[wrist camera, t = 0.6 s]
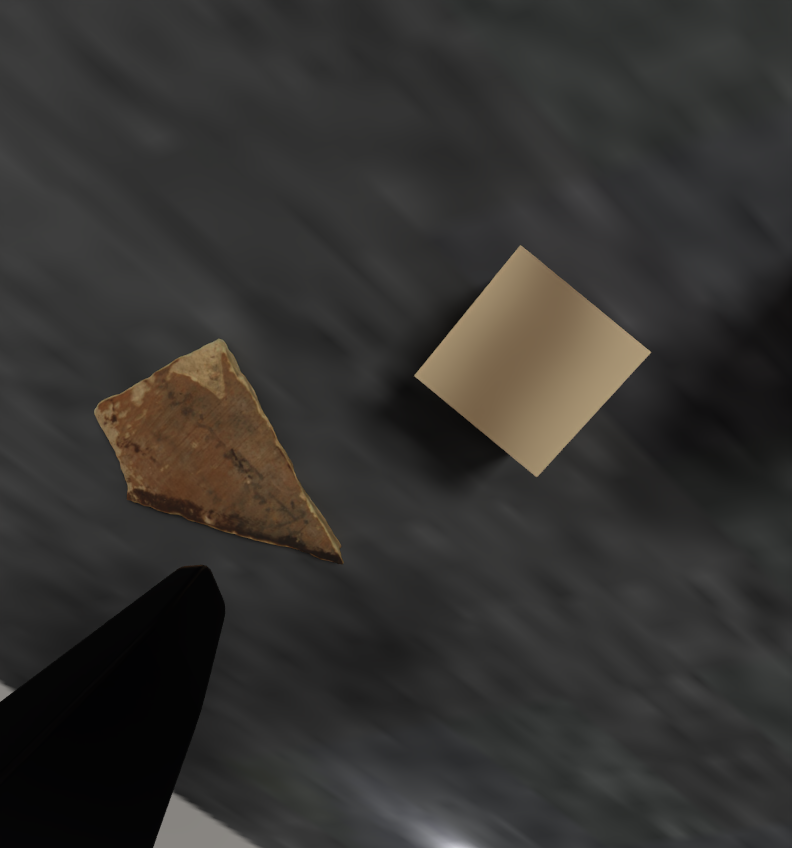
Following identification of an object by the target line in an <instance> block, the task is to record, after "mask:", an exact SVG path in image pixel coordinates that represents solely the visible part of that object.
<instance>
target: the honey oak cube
mask: <svg viewBox="0 0 792 848" xmlns="http://www.w3.org/2000/svg"><path fill="white" fill-rule="evenodd" d="M650 353H651V352H650V351H649V350H648V349H647V348H645V347H644V346H643V345H642V344H640V343H639V342H638V341H637V340H636V339H634V338H633V337H632V336H631V335H629V334H628V333H627V332H626V331H625V330H623V329H622V328H621V327H620V326H619V325H617V324H616V323H615V322H614V321H612V320H611V319H610V318H609V317H608V316H606V315H605V314H604V313H603V312H601V311H600V310H599V309H598V308H597V307H595V306H594V305H593V304H592V303H590V302H589V301H588V300H587V299H586V298H584V297H583V296H582V295H581V294H579V293H578V292H577V291H576V290H575V289H573V288H572V287H571V286H570V285H568V284H567V283H566V282H565V281H564V280H562V279H561V278H560V277H559V276H557V275H556V274H555V273H554V272H553V271H551V270H550V269H549V268H548V267H547V266H545V265H544V264H543V263H542V262H540V261H539V260H538V259H537V258H536V257H534V256H533V255H532V254H531V253H529V252H528V251H527V250H526V249H525V248H523V247H522V246H521V245H520V246H519V248H518V249H517V250H516V251H515V253H514V254H513V255H512V256H511V257H510V259H509V260H508V261H507V262H506V264H505V265H504V266H503V267H502V268H501V270H500V271H499V272H498V273H497V275H496V276H495V277H494V278H493V280H492V281H491V282H490V283H489V284H488V286H487V287H486V288H485V289H484V291H483V292H482V293H481V294H480V296H479V297H478V298H477V299H476V300H475V302H474V303H473V304H472V305H471V307H470V308H469V309H468V310H467V312H466V313H465V314H464V315H463V316H462V318H461V319H460V320H459V321H458V323H457V324H456V325H455V326H454V327H453V329H452V330H451V331H450V332H449V334H448V335H447V336H446V337H445V339H444V340H443V341H442V342H441V343H440V345H439V346H438V347H437V348H436V350H435V351H434V352H433V353H432V355H431V356H430V357H429V358H428V359H427V361H426V362H425V363H424V364H423V366H422V367H421V368H420V369H419V370H418V372H417V373H416V374H415V375H414V376H415V377H416V378H417V379H418V380H420V381H421V382H422V383H423V384H425V385H426V386H427V387H428V388H429V389H431V390H432V391H433V392H434V393H435V394H437V395H438V396H439V397H440V398H441V399H443V400H444V401H445V402H446V403H448V404H449V405H450V406H451V407H452V408H454V409H455V410H456V411H457V412H458V413H460V414H461V415H462V416H463V417H464V418H466V419H467V420H468V421H469V422H471V423H472V424H473V425H474V426H475V427H477V428H478V429H479V430H480V431H481V432H483V433H484V434H485V435H486V436H487V437H489V438H490V439H491V440H492V441H494V442H495V443H496V444H497V445H498V446H500V447H501V448H502V449H503V450H504V451H506V452H507V453H508V454H509V455H510V456H512V457H513V458H514V459H515V460H517V461H518V462H519V463H520V464H521V465H523V466H524V467H525V468H526V469H527V470H529V471H530V472H531V473H532V474H533V475H535V476H536V477H537V476H538V475H539V474H540V473H541V472H542V471H543V470H544V469H545V468H546V467H547V466H548V464H549V463H550V462H551V461H552V460H553V459H554V458H555V457H556V456H557V455H558V454H559V452H560V451H561V450H562V449H563V448H564V447H565V446H566V445H567V444H568V443H569V441H570V440H571V439H572V438H573V437H574V436H575V435H576V434H577V433H578V432H579V431H580V429H581V428H582V427H583V426H584V425H585V424H586V423H587V422H588V421H589V420H590V419H591V417H592V416H593V415H594V414H595V413H596V412H597V411H598V410H599V409H600V408H601V407H602V405H603V404H604V403H605V402H606V401H607V400H608V399H609V398H610V397H611V396H612V395H613V393H614V392H615V391H616V390H617V389H618V388H619V387H620V386H621V385H622V384H623V383H624V381H625V380H626V379H627V378H628V377H629V376H630V375H631V374H632V373H633V372H634V371H635V369H636V368H637V367H638V366H639V365H640V364H641V363H642V362H643V361H644V360H645V359H646V357H647V356H648V355H649V354H650Z"/></svg>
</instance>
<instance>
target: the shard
mask: <svg viewBox="0 0 792 848" xmlns="http://www.w3.org/2000/svg"><path fill="white" fill-rule="evenodd" d="M94 414H95V416H96V418H97V420H98V422H99V424H100V426H101V428H102V429H103V431H104V432H105V434H106V436H107V438H108V439H109V442H110V444H111V445H112V447H113V448H114V450H115V452H116V456H117V458H118V459H119V461H120V465H121V469H122V472H123V474H124V476H125V480H126V482H127V484H128V492H127V500H131V501H133V502H135V503H140V504H141V505H144V506H150V507H152V508H154V509H156V510H158V511H162V512H165V513H169V514H178V515H181V516H183V517H184V518H186V519H188V520H190V521H194V522H198V523H201V524H205V525H208V526H210V527H213V528H216V529H218V530H221V531H224V532H228V533H231V534H237V535H238V536H241V537H246V538H250V539H253V540H256V541H261V542H266V543H270V544H274V545H278V546H287V547H290V548H293V549H298V550H300V551H302V552H305V553H310V554H312V555H313V556H315V557H318V558H319V559H322V560H327V561H332V562H335V563H338V564H343V563H344V562H343V560H342V558H341V552H340V548H341V544H340V543H339V541H338V539H337V538H336V537H335V535H334V534H333V532H332V530H331V528H330V527H329V526H328V524H327V522H326V520H325V518H324V517H323V516H322V514H321V512H320V511H319V510H318V509H317V507H316V506H315V504H314V503H313V502H312V501H311V499H310V497H309V496H308V494H307V493H306V492H305V490H304V489H303V488H302V486H301V484H300V482H299V481H298V479H297V477H296V475H295V472H294V468H293V464H292V462H291V460H290V459H289V457H288V455H287V454H286V452H285V450H284V449H283V447H282V446H281V444H280V443H279V442H278V439H277V437H276V434H275V432H274V430H273V427H272V425H271V424H270V422H269V420H268V419H267V417H266V416H265V414H264V413H263V411H262V409H261V406H260V404H259V401H258V399H257V396H256V394H255V391H254V389H253V388H252V386H251V385H250V383H249V382H248V381H247V379H246V377H245V376H244V375H243V374H242V373H241V371H240V369H239V366H238V364H237V361H236V359H235V357H234V355H233V354H232V353H231V352H230V351H229V350H228V347H227V345H226V343H225V342H224V341H223V340H221V339H218V340H216V341H214V342H212V343H209V344H207V345H205V346H203V347H202V348H200V349H199V350H196V351H194V352H192V353H190V354H188V355H185V356H181V357H179V358H178V359H176V360H174V361H173V362H171V363H170V364H168V365H167V366H165V367H163V368H162V369H160V370H158V371H157V372H155V373H153V375H152V376H151V377H149V378H147V379H144V380H142V381H141V382H139V383H137V384H135V385H134V386H132V387H131V388H129V389H128V390H126V391H124V392H122V393H121V394H119V395H114V396H111V397H109V398H107V399H104V400H103V401H101V402H100V403H99V404H98V405H97V408H96V409H95V410H94Z"/></svg>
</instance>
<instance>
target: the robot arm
mask: <svg viewBox="0 0 792 848" xmlns="http://www.w3.org/2000/svg"><path fill="white" fill-rule="evenodd" d="M224 617H225V604H224V600H223V598H222V595H221V593H220V591H219V588H218V586H217V583H216V581H215V579H214V576H213V574H212V572H211V570H210V569H209V568H208V567H207V566H204V565H196V566H184V567H181V568H179V569H177V570H176V571H175V572H173V573H172V574H170V575H169V576H168V577H166V578H165V579H164V580H162V581H161V582H160V583H158V584H157V585H156V586H154V587H153V588H152V589H150V590H149V591H148V592H146V593H145V594H144V595H142V596H141V597H140V598H138V599H137V600H136V601H134V602H133V603H132V604H130V605H129V606H128V607H126V608H125V609H124V610H122V611H121V612H120V613H118V614H117V615H116V616H114V617H113V618H112V619H110V620H109V621H108V622H106V623H105V624H104V625H102V626H101V627H100V628H98V629H97V630H96V631H94V632H93V633H92V634H90V635H89V636H88V637H86V638H85V639H84V640H82V641H81V642H80V643H78V644H77V645H76V646H74V647H73V648H72V649H70V650H69V651H68V652H66V653H65V654H64V655H62V656H61V657H60V658H58V659H57V660H56V661H54V662H53V663H52V664H50V665H49V666H48V667H46V668H45V669H44V670H42V671H41V672H40V673H38V674H37V675H36V676H34V677H33V678H32V679H30V680H29V681H28V682H26V683H25V684H23V685H22V686H21V687H19V688H18V689H17V690H15V691H14V692H13V693H11V694H10V695H9V696H7V697H6V698H5V699H3V700H2V701H1V702H0V848H153V846H154V843H155V841H156V838H157V835H158V832H159V829H160V826H161V823H162V821H163V817H164V815H165V812H166V809H167V807H168V804H169V801H170V798H171V795H172V793H173V790H174V787H175V784H176V781H177V778H178V776H179V773H180V770H181V767H182V764H183V761H184V759H185V756H186V753H187V750H188V747H189V745H190V742H191V739H192V736H193V733H194V730H195V727H196V724H197V721H198V718H199V715H200V712H201V709H202V705H203V701H204V698H205V694H206V690H207V686H208V682H209V678H210V674H211V670H212V666H213V662H214V658H215V654H216V650H217V646H218V642H219V638H220V633H221V629H222V625H223V621H224Z"/></svg>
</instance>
